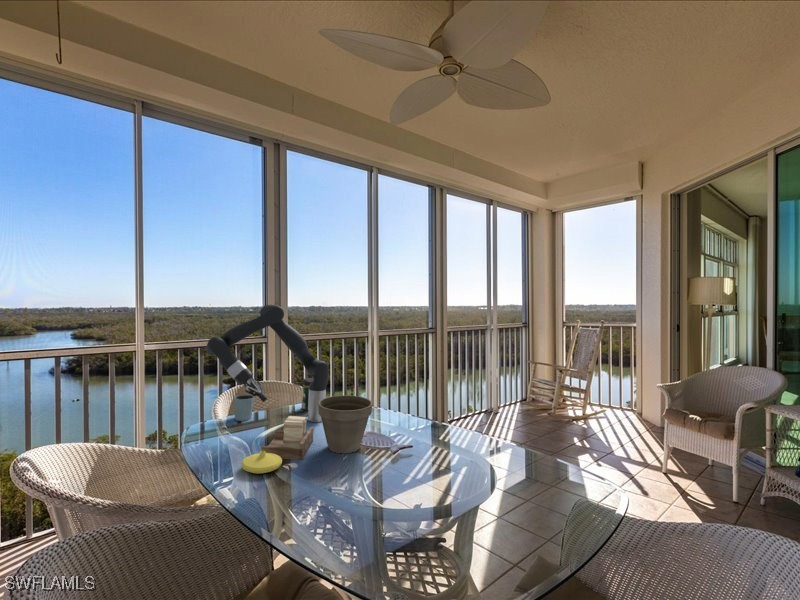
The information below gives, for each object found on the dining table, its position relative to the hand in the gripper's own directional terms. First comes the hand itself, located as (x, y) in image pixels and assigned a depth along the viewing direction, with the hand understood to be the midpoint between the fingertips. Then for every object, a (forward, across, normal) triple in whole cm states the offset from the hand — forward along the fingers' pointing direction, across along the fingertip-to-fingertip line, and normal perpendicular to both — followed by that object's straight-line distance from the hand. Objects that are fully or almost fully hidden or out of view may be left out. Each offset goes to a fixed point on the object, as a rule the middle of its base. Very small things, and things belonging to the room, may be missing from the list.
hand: (265, 400), depth 190 cm
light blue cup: (-1, +35, +32) cm, 48 cm away
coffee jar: (+21, +60, +10) cm, 64 cm away
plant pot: (+41, +2, -10) cm, 42 cm away
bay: (+23, -2, +7) cm, 24 cm away
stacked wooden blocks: (+24, -2, +4) cm, 25 cm away
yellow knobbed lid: (+20, -23, +10) cm, 32 cm away
